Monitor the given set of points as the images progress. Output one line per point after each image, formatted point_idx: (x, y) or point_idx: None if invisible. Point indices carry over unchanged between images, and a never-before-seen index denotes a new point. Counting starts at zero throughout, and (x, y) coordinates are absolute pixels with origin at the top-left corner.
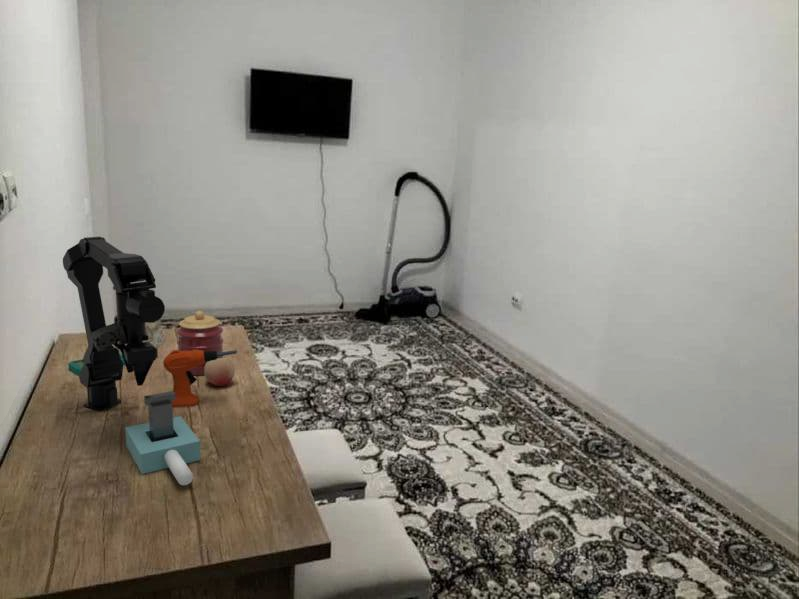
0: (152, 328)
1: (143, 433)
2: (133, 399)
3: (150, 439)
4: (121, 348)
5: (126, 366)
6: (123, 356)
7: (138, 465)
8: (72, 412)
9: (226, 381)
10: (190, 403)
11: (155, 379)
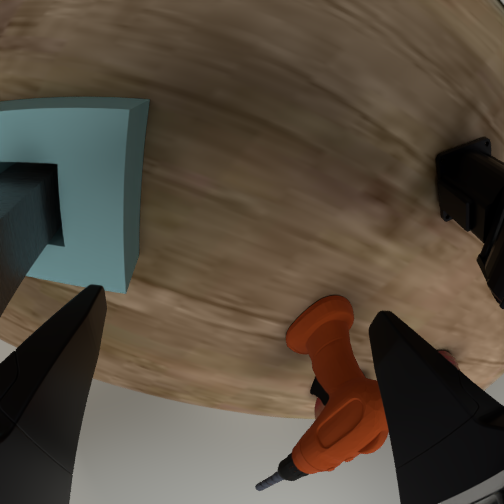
0: None
1: (47, 154)
2: (430, 245)
3: (55, 166)
4: (488, 441)
5: (403, 338)
6: (451, 392)
7: (4, 102)
8: (478, 99)
9: (316, 400)
10: (290, 332)
11: (456, 311)
